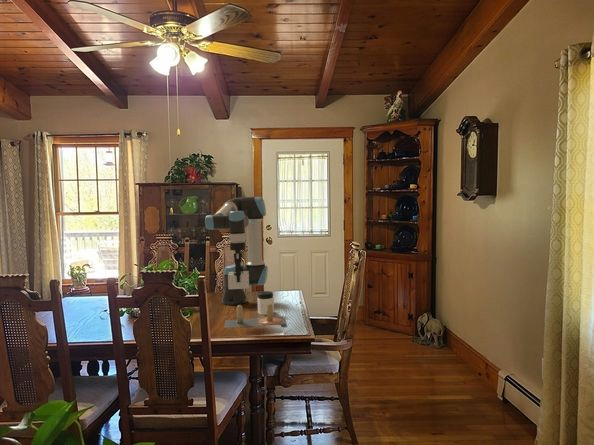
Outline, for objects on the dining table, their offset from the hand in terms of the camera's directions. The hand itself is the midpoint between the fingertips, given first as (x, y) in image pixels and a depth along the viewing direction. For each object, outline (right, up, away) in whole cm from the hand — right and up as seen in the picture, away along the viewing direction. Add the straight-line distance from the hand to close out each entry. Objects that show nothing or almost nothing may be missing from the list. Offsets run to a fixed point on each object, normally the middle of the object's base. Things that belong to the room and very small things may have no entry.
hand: (238, 286), depth 211 cm
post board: (+8, -19, +2) cm, 21 cm away
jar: (+12, -19, +20) cm, 29 cm away
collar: (0, 0, 0) cm, 0 cm away
